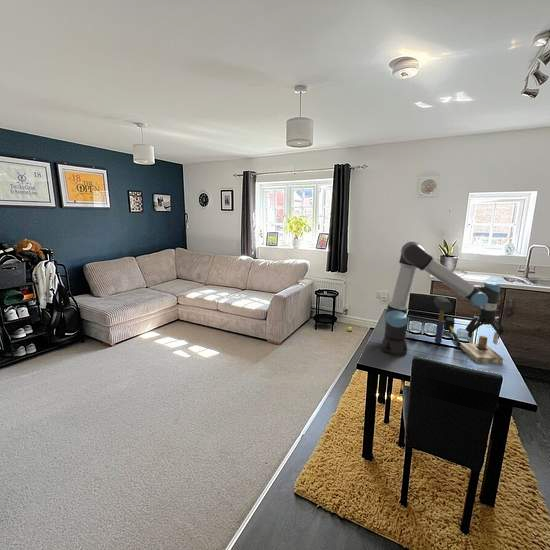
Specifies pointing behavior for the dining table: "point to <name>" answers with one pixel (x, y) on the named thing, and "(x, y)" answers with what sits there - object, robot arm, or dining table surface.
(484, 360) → the board
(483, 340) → the peg
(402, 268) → the robot arm
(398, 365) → the dining table surface
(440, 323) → the rubber mallet
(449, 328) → the mallet
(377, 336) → the dining table surface
